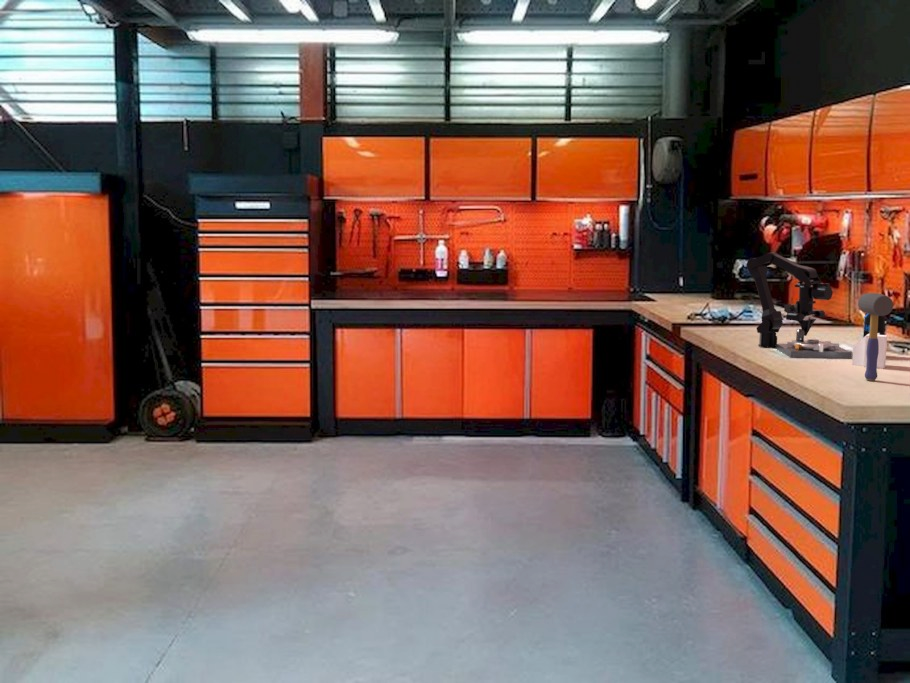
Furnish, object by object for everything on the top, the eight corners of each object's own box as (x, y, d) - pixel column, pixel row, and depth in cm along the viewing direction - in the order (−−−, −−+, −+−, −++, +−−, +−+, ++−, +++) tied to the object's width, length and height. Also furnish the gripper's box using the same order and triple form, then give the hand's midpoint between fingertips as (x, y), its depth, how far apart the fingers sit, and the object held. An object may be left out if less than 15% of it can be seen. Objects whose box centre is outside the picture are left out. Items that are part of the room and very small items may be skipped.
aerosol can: (882, 355, 385) (885, 306, 382) (884, 358, 377) (887, 308, 375) (860, 354, 387) (863, 305, 385) (862, 357, 380) (865, 307, 377)
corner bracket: (883, 368, 350) (885, 336, 348) (850, 366, 356) (852, 334, 354) (887, 365, 359) (889, 333, 357) (855, 362, 365) (857, 331, 363)
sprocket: (849, 348, 385) (850, 331, 384) (817, 351, 374) (818, 334, 374) (808, 342, 401) (809, 327, 401) (776, 345, 391) (777, 329, 390)
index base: (790, 357, 378) (791, 343, 377) (775, 349, 401) (776, 336, 400) (851, 358, 376) (852, 344, 375) (833, 350, 399) (834, 337, 398)
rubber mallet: (851, 377, 330) (856, 291, 326) (872, 377, 330) (878, 291, 326) (868, 383, 318) (873, 294, 314) (890, 383, 318) (896, 294, 314)
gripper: (802, 295, 404) (801, 331, 406) (775, 298, 394) (774, 335, 396) (826, 297, 395) (824, 334, 397) (798, 300, 384) (797, 338, 387)
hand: (804, 335), depth 395 cm, fingers closed
